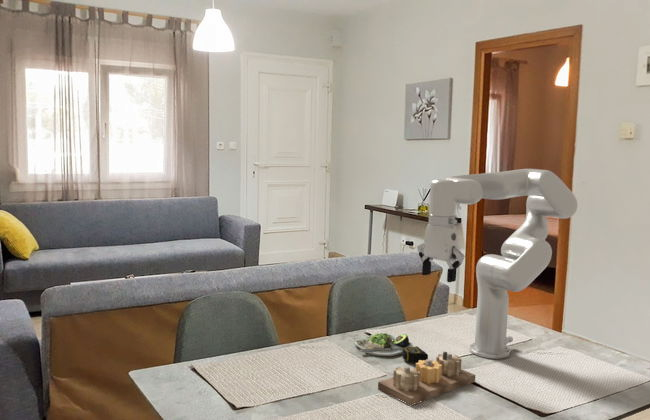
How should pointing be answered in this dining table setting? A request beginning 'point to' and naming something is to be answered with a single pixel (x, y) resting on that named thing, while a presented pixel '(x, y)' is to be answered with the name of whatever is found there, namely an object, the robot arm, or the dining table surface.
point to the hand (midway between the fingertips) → (438, 278)
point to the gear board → (414, 391)
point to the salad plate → (383, 344)
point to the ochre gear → (429, 371)
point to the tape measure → (414, 354)
